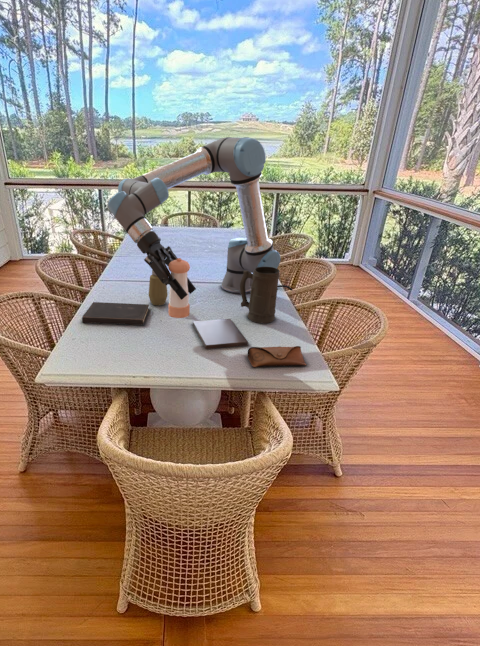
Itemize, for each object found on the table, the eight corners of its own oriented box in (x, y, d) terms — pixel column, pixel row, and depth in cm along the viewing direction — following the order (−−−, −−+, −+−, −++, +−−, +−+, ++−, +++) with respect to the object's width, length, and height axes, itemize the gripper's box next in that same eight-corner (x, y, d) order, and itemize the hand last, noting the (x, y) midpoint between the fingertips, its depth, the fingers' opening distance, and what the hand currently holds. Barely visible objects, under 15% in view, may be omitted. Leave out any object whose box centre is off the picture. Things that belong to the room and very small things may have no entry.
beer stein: (278, 315, 160) (282, 266, 150) (274, 325, 151) (278, 274, 141) (241, 312, 165) (242, 264, 155) (235, 321, 156) (236, 271, 146)
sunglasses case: (253, 367, 122) (252, 346, 122) (247, 367, 129) (246, 347, 129) (308, 365, 124) (308, 344, 124) (300, 365, 131) (299, 345, 131)
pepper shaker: (190, 310, 138) (191, 255, 128) (188, 318, 132) (189, 262, 122) (170, 309, 139) (169, 254, 129) (166, 317, 133) (166, 260, 123)
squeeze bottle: (164, 307, 164) (164, 264, 155) (146, 305, 165) (144, 263, 156) (169, 300, 171) (169, 259, 162) (151, 299, 172) (150, 257, 163)
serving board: (230, 322, 153) (230, 318, 152) (247, 345, 136) (248, 341, 136) (192, 324, 150) (192, 321, 149) (205, 349, 133) (206, 345, 132)
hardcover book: (93, 307, 162) (93, 302, 161) (149, 309, 162) (149, 304, 160) (82, 323, 149) (81, 317, 147) (143, 326, 148) (142, 320, 147)
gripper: (153, 238, 137) (194, 292, 140) (122, 250, 123) (168, 309, 125) (166, 224, 133) (208, 280, 135) (135, 235, 118) (182, 296, 121)
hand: (188, 294), depth 130 cm, fingers closed on pepper shaker, 5 cm apart
